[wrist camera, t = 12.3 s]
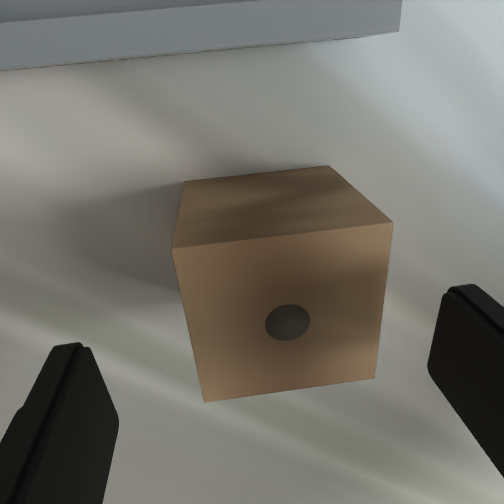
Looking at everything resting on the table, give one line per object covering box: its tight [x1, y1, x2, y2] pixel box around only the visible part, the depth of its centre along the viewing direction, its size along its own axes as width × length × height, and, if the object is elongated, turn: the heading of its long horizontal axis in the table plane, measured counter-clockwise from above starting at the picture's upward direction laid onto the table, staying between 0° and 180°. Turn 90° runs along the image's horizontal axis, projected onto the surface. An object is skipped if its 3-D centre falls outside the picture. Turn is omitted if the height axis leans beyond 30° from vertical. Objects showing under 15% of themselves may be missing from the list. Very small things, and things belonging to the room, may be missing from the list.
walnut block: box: [171, 166, 393, 402], centre depth 14 cm, size 6×6×6 cm
